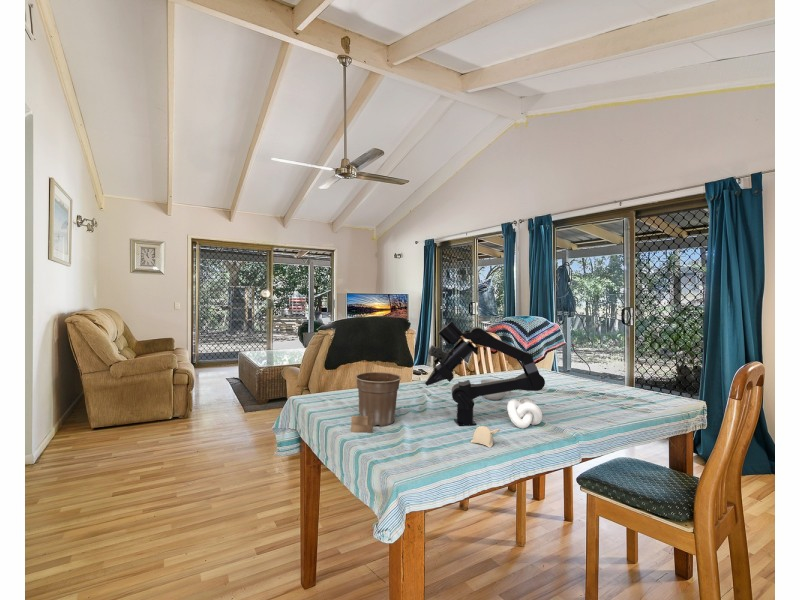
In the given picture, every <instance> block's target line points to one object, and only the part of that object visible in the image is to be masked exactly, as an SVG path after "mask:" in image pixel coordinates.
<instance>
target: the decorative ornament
mask: <svg viewBox="0 0 800 600" xmlns="http://www.w3.org/2000/svg"><path fill="white" fill-rule="evenodd" d="M500 431H501V429H498V428H497V429H493V430H492V429H490V427H487V426H485V425H480V426H478V427H476V429H475V430H474V432H473V437H472V439H471V440H470V443H475V444H480V445H484V446H487V447H488V448H489V447H491V448H492V447H493V445H494V435H495V434H497V433H499V432H500Z"/></svg>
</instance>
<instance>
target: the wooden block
mask: <svg viewBox="0 0 800 600" xmlns="http://www.w3.org/2000/svg"><path fill="white" fill-rule="evenodd" d="M358 413H360V409H359V408H358ZM373 427H374V426H373V413H368V416H360V415H351V418H350V432H351V433H368V434H370V433H371V434H373V433H374V432H373V431H374V430H373Z"/></svg>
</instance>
